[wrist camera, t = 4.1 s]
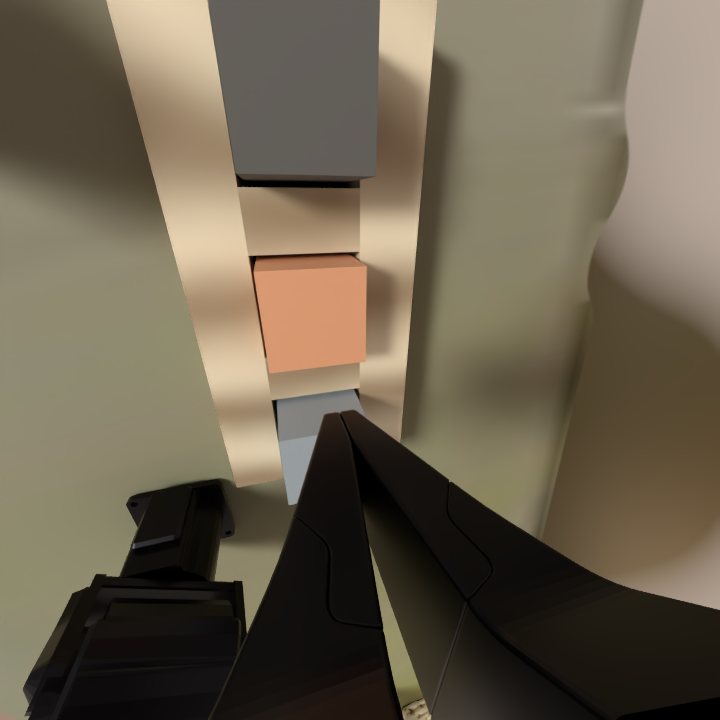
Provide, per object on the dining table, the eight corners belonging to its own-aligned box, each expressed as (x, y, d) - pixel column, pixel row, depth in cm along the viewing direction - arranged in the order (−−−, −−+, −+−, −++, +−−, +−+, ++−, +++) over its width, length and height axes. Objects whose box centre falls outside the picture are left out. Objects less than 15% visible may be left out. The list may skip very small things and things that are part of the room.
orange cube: (345, 328, 21) (365, 361, 16) (269, 335, 20) (269, 373, 15) (344, 250, 18) (366, 266, 14) (257, 253, 17) (253, 271, 13)
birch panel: (386, 430, 26) (399, 455, 24) (240, 456, 24) (236, 487, 21) (408, 30, 15) (437, -5, 12) (127, -8, 12) (89, -64, 10)
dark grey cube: (347, 182, 16) (375, 176, 12) (245, 181, 15) (235, 173, 10) (345, 51, 13) (380, -17, 9) (224, 37, 12) (200, -48, 8)
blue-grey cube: (350, 435, 24) (368, 487, 19) (285, 447, 23) (288, 505, 18) (350, 380, 21) (370, 426, 17) (276, 390, 20) (278, 441, 16)
